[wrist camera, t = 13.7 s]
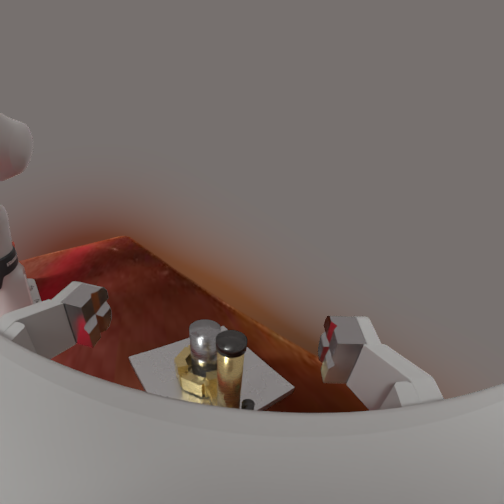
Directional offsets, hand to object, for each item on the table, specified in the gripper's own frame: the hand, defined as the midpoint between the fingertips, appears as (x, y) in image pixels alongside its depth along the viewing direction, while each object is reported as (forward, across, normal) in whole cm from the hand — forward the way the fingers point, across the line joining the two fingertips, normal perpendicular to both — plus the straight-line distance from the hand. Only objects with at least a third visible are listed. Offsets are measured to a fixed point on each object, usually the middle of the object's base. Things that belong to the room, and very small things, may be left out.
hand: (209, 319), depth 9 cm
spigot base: (+19, -4, -26) cm, 33 cm away
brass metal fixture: (+17, -3, -25) cm, 30 cm away
